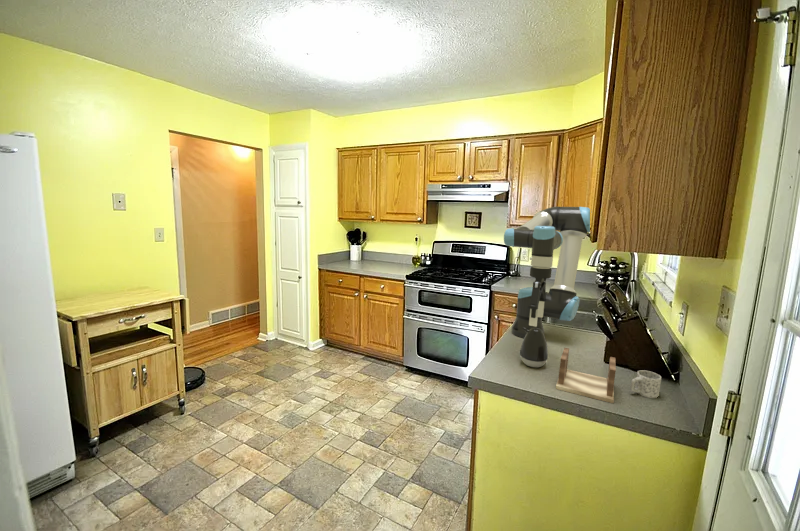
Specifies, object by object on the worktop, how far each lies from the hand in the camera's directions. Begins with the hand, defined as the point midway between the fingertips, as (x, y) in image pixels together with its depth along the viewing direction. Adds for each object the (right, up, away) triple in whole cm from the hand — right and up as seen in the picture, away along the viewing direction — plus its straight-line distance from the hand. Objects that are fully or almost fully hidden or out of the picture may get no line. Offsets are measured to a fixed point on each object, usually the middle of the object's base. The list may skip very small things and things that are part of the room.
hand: (536, 321), depth 137 cm
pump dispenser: (0, -18, +3) cm, 18 cm away
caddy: (+12, -20, -13) cm, 27 cm away
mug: (+29, -22, -17) cm, 40 cm away
